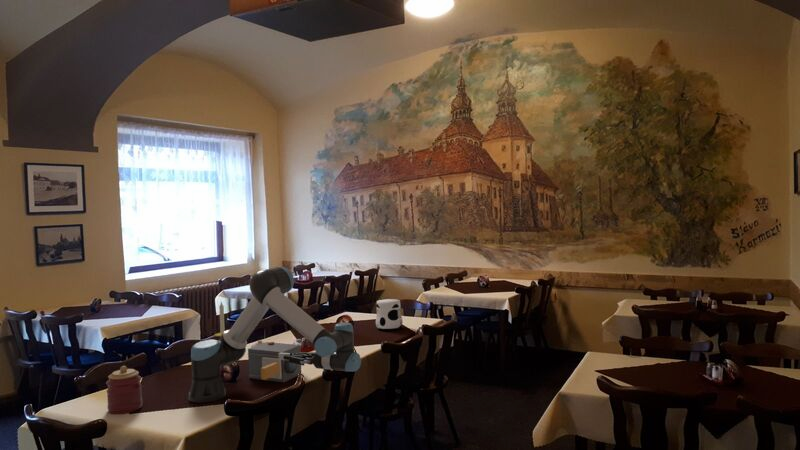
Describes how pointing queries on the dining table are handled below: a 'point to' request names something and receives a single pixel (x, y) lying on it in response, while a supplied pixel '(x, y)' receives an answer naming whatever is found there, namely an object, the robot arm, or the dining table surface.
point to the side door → (271, 368)
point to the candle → (221, 321)
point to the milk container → (388, 314)
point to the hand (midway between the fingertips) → (279, 356)
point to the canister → (124, 391)
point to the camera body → (272, 351)
